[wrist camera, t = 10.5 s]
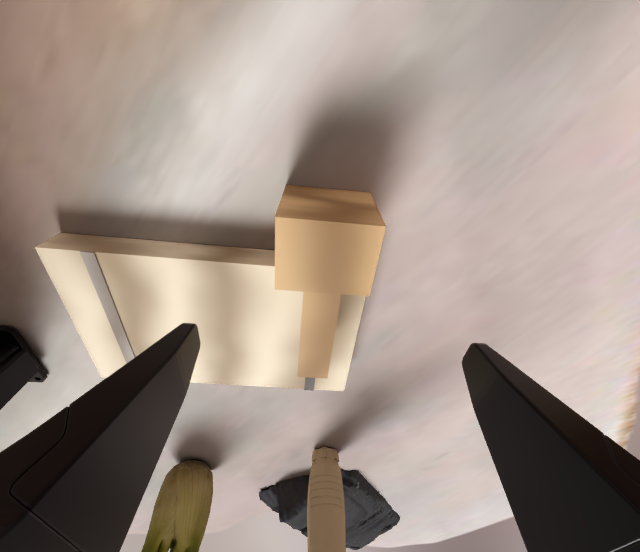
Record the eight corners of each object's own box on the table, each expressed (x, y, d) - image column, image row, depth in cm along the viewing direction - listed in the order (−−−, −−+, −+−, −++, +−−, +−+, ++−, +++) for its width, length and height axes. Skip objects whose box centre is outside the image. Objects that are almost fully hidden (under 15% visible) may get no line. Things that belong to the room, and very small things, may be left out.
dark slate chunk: (323, 530, 51) (323, 567, 47) (251, 483, 40) (244, 526, 36) (405, 515, 47) (413, 554, 43) (351, 458, 36) (355, 504, 32)
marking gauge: (282, 322, 23) (274, 375, 19) (286, 184, 17) (275, 216, 13) (344, 327, 23) (349, 379, 19) (370, 192, 17) (386, 226, 13)
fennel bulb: (225, 470, 37) (190, 612, 27) (195, 478, 38) (151, 616, 28) (195, 451, 34) (144, 601, 24) (164, 459, 35) (103, 606, 25)
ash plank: (115, 357, 25) (100, 378, 23) (60, 232, 18) (33, 248, 17) (342, 371, 26) (344, 392, 24) (366, 257, 19) (371, 274, 18)
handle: (328, 434, 32) (333, 656, 20) (355, 457, 35) (375, 662, 23) (293, 446, 34) (277, 660, 21) (322, 467, 37) (324, 665, 24)
